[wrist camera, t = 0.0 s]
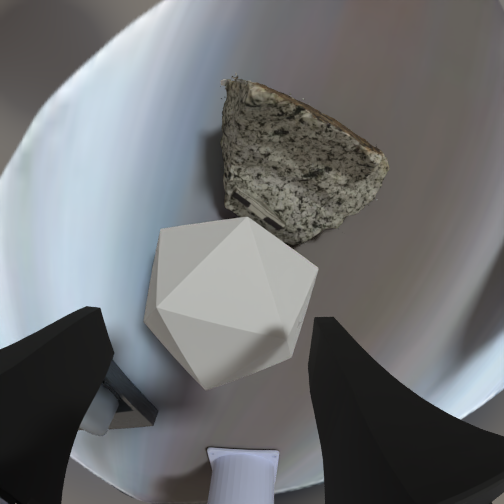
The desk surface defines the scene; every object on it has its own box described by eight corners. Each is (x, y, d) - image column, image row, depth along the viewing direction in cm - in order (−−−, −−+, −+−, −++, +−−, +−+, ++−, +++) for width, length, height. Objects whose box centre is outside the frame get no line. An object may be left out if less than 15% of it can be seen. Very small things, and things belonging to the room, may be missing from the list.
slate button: (99, 378, 22) (83, 406, 18) (126, 408, 23) (114, 435, 20) (75, 383, 22) (59, 408, 19) (100, 411, 24) (88, 435, 20)
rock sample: (164, 252, 15) (250, 166, 8) (181, 136, 17) (252, 32, 10) (315, 276, 20) (429, 239, 13) (308, 180, 22) (397, 123, 15)
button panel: (95, 337, 22) (85, 351, 21) (158, 411, 25) (153, 425, 24) (8, 368, 26) (0, 377, 25) (54, 419, 30) (48, 429, 28)
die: (235, 330, 22) (325, 403, 14) (119, 324, 17) (163, 434, 9) (262, 222, 22) (377, 251, 13) (142, 193, 17) (208, 204, 8)
